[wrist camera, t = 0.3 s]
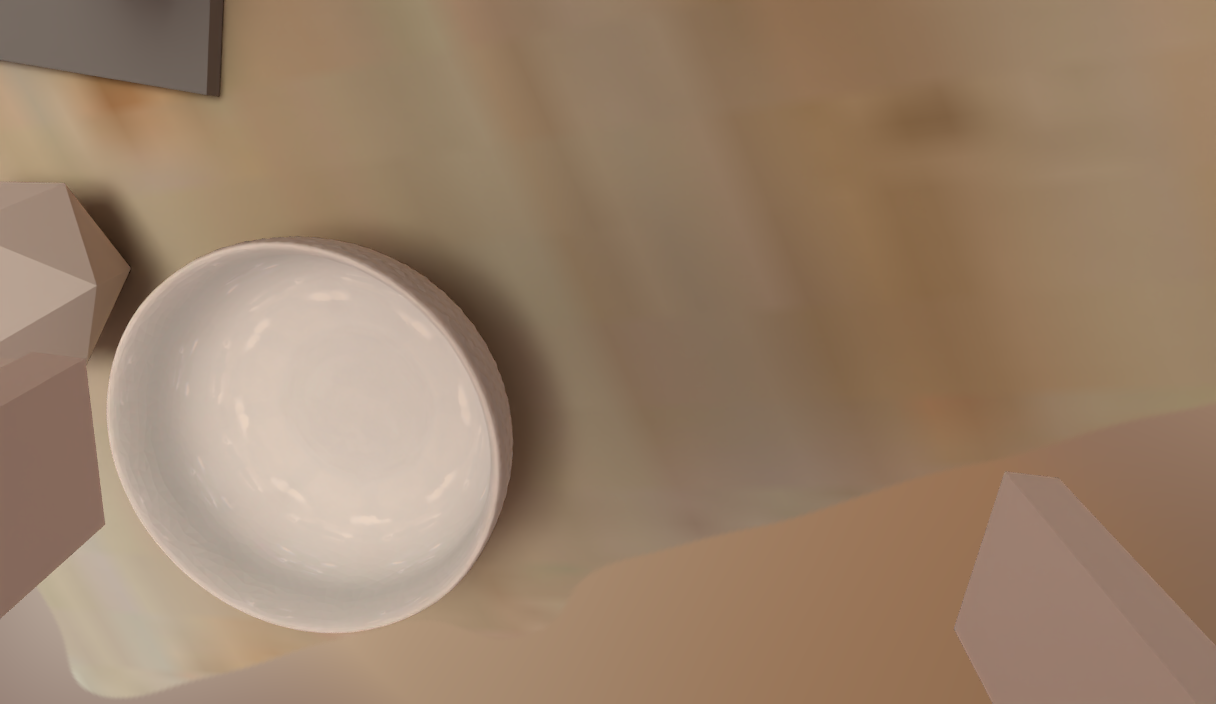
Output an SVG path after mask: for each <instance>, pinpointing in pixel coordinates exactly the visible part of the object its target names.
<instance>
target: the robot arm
mask: <svg viewBox="0 0 1216 704" xmlns="http://www.w3.org/2000/svg"><path fill="white" fill-rule="evenodd" d="M104 525H105V520H104V512H103V503H102V495H101V487H100V478H99V470H98V462H97V453H96V445H95V437H94V428H93V420H92V411H91V403H90V395H89V386H88V378H87V370H86V361H85V358H77V357H69V356H61V355H53V354H45V353H36V352H30V353H28V354H26V355H24V356H23V357H21V358H19V359H17V360H15V361H13V362H11V363H9V364H7V365H5V366H3V367H1V368H0V618H2V616H4V615H5V614H6V613H7V612H8V611H9V610H10V609H12V608H13V607H14V606H15V605H16V604H17V603H18V602H19V601H20V600H22V599H23V598H24V597H25V596H26V595H27V594H28V593H29V592H30V591H31V590H33V589H34V588H35V587H36V586H37V585H38V584H39V583H40V582H42V581H43V580H44V579H45V578H46V577H47V576H48V575H49V574H51V573H52V572H53V571H54V570H55V569H56V568H57V567H58V566H59V565H61V564H62V563H63V562H64V561H65V560H66V559H67V558H68V557H69V556H71V555H72V554H73V553H74V552H75V551H76V550H77V549H78V548H79V547H81V546H82V545H83V544H84V543H85V542H86V541H87V540H88V539H89V538H91V537H92V536H93V535H94V534H95V533H96V532H97V531H98V530H100V529H101V528H102V527H103V526H104ZM954 630H955V632H956V634H957V636H958V638H959V640H960V642H961V644H962V646H963V647H964V649H965V651H966V653H967V655H968V657H969V659H970V661H971V663H972V665H973V667H974V669H975V671H976V672H977V674H978V676H979V678H980V680H981V682H982V684H983V686H984V688H985V690H986V692H987V694H988V696H989V697H990V699H991V701H992V703H993V704H1216V646H1215V645H1214V644H1213V643H1212V641H1211V640H1210V639H1209V638H1208V637H1207V636H1206V635H1205V634H1204V633H1203V632H1202V631H1201V630H1200V629H1199V628H1198V627H1197V626H1196V624H1195V623H1194V622H1193V621H1192V620H1191V619H1190V618H1189V617H1188V616H1187V615H1186V614H1185V613H1184V612H1183V610H1181V608H1180V607H1179V606H1178V605H1177V604H1176V603H1175V602H1174V601H1173V600H1172V599H1171V598H1170V597H1169V596H1168V594H1167V593H1166V592H1165V591H1164V590H1163V589H1162V588H1161V587H1160V586H1159V585H1158V584H1157V583H1156V582H1155V581H1154V580H1153V578H1152V577H1150V575H1149V574H1148V573H1147V572H1146V571H1145V570H1144V569H1143V568H1142V567H1141V566H1140V565H1139V563H1137V561H1136V560H1135V559H1134V558H1133V557H1132V556H1131V555H1130V554H1129V553H1128V552H1127V551H1126V550H1125V548H1124V547H1123V546H1122V545H1121V544H1120V543H1119V542H1118V541H1117V540H1116V539H1115V538H1114V537H1113V536H1112V535H1111V534H1110V532H1109V531H1108V530H1107V529H1106V528H1105V527H1104V526H1103V525H1102V524H1101V523H1100V522H1099V521H1098V520H1097V519H1096V517H1095V516H1093V514H1092V513H1091V512H1090V511H1089V510H1088V509H1087V508H1086V507H1085V506H1084V505H1083V504H1082V503H1081V501H1080V500H1079V499H1078V498H1077V497H1076V496H1075V495H1074V494H1073V493H1072V492H1071V491H1070V490H1069V489H1068V488H1067V486H1066V485H1064V483H1063V482H1062V481H1061V480H1060V479H1059V478H1055V477H1047V476H1039V475H1030V474H1022V473H1014V472H1006V471H1005V472H1004V476H1003V479H1002V481H1001V485H1000V488H999V491H998V494H997V497H996V500H995V503H994V506H993V509H992V512H991V516H990V519H989V522H988V525H987V528H986V531H985V534H984V537H983V540H982V543H981V546H980V549H979V553H978V556H977V559H976V562H975V565H974V568H973V571H972V574H971V577H970V581H969V583H968V587H967V590H966V593H965V596H964V599H963V602H962V605H961V608H960V611H959V615H958V617H957V621H956V624H955V627H954Z"/></svg>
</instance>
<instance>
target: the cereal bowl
mask: <svg viewBox="0 0 1216 704" xmlns="http://www.w3.org/2000/svg"><path fill="white" fill-rule="evenodd" d="M107 428H108V435H109V442H110V448H111V452H112V456H113V460H114V464H115V467H116V470H117V473H118V476H119V478H120V481H121V483H122V486H123V488H124V490H125V493H126V495H127V497H128V499H129V501H130V503H131V505H132V507H133V509H134V511H135V513H136V514H137V516H138V518H139V520H140V521H141V523H142V524H143V526H144V527H145V529H146V530H147V532H148V533H149V534H150V536H151V537H152V538H153V540H154V541H155V542H156V544H157V545H158V546H159V547H160V548H161V550H162V551H163V552H164V553H165V554H166V555H167V556H168V558H169V559H170V560H171V561H172V562H173V563H174V564H175V565H177V566H178V567H179V568H180V569H181V570H182V571H183V572H184V573H185V574H186V575H187V576H189V577H190V578H191V579H192V580H193V581H194V582H196V583H197V584H198V585H200V586H201V587H202V588H204V589H205V590H206V591H208V592H209V593H211V594H212V595H214V596H215V597H217V598H218V599H220V600H222V601H223V602H225V603H227V604H228V605H230V606H232V607H234V608H236V609H238V610H240V611H242V612H244V613H246V614H248V615H250V616H253V617H255V618H257V619H260V620H263V621H266V622H269V623H272V624H274V625H278V626H283V627H287V628H291V629H295V630H300V631H306V632H318V633H349V632H358V631H365V630H370V629H375V628H379V627H383V626H386V625H389V624H393V623H396V622H398V621H401V620H404V619H406V618H408V617H410V616H413V615H415V614H417V613H419V612H421V611H422V610H424V609H426V608H427V607H429V606H431V605H432V604H434V603H436V602H437V601H439V600H440V599H441V598H442V597H444V596H445V595H446V594H447V593H449V592H450V591H451V590H452V589H453V588H454V587H455V586H456V585H457V584H458V583H459V582H460V581H461V580H462V579H463V578H464V576H465V575H466V574H467V573H468V572H469V571H470V569H471V568H472V566H473V565H474V563H475V562H476V560H477V559H478V557H479V556H480V554H481V552H482V551H483V549H484V547H485V545H486V543H487V542H488V540H489V538H490V536H491V533H492V531H493V529H494V527H495V525H496V523H497V520H498V517H499V515H500V512H501V510H502V508H503V502H504V500H505V497H506V495H507V488H508V483H509V481H510V474H511V467H512V458H513V451H512V447H513V433H512V424H511V416H510V408H509V403H508V397H507V395H506V393H505V386H504V383H503V381H502V378H501V374H500V373H499V371H498V368H497V364H496V362H495V361H494V359H493V357H492V355H491V353H490V351H489V350H488V347H487V344H486V343H485V342H484V340H483V339H482V337H481V335H480V334H479V333H478V332H477V330H476V328H475V325H474V324H473V323H472V322H471V321H469V319H468V318H467V317H466V316H465V314H464V313H463V311H462V309H461V308H460V307H459V306H457V305H456V304H455V303H454V302H453V300H451V299H450V298H449V297H448V296H447V295H446V293H445V292H444V291H442V290H440V289H439V288H438V287H437V286H436V285H435V284H433V283H431V282H430V281H429V280H428V278H427V277H425V276H423V275H421V274H419V273H418V272H417V271H416V270H413V269H411V268H410V267H409V266H408V265H406V264H403V263H400V262H399V261H397V260H395V259H394V258H391V257H388V256H386V255H384V254H382V253H379V252H377V251H374V250H372V249H370V248H366V247H361V246H359V245H357V244H354V243H347V242H342V241H338V240H334V239H322V238H317V237H300V236H296V237H278V238H270V239H259V240H254V241H245V242H242V243H238V244H235V245H232V246H228V247H223V248H220V249H217V250H215V251H213V252H210V253H208V254H206V255H204V256H201V257H198V258H196V259H195V260H193V261H191V262H190V263H188V264H186V265H185V266H183V267H182V268H180V269H179V270H177V271H176V272H175V273H173V274H172V275H171V276H169V277H168V278H167V279H166V280H165V281H163V282H162V283H161V284H160V285H159V286H158V287H157V288H156V289H154V290H153V291H152V292H151V293H150V295H149V296H148V297H147V298H146V299H145V300H144V301H143V303H142V304H141V305H140V306H139V307H138V309H137V311H136V312H135V314H134V315H133V317H132V318H131V320H130V321H129V323H128V325H127V327H126V329H125V331H124V333H123V335H122V337H121V340H120V342H119V344H118V347H117V350H116V353H115V356H114V360H113V363H112V368H111V372H110V377H109V385H108V393H107Z"/></svg>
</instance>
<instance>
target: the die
mask: <svg viewBox="0 0 1216 704" xmlns="http://www.w3.org/2000/svg"><path fill="white" fill-rule="evenodd" d="M130 269H131V268H130V266H129V265H128V264H127V263H126V261H125V260H124V259H123V257H122V256H121V255H120V254H119V252H118V251H117V250H116V248H115V247H114V246H113V245H112V243H111V242H110V241H109V239H108V238H107V237H106V236H105V234H104V233H103V232H102V230H101V229H100V228H99V227H98V225H97V224H96V223H95V221H94V220H93V219H92V218H91V216H90V215H89V214H88V213H87V211H86V210H85V209H84V207H83V206H82V205H81V204H80V202H79V201H78V200H77V198H76V197H75V196H74V195H73V193H72V192H71V191H70V189H69V188H68V187H67V186H66V184H65V183H38V182H0V368H1V367H3V366H5V365H7V364H9V363H11V362H13V361H15V360H17V359H19V358H21V357H23V356H24V355H26V354H28V353H30V352H36V353H45V354H53V355H61V356H69V357H77V358H85V361H86V365H87V363H88V361H89V359H90V356H91V354H92V352H93V350H94V348H95V346H96V343H97V341H98V339H99V337H100V335H101V332H102V330H103V328H104V326H105V324H106V322H107V319H108V317H109V315H110V313H111V311H112V308H113V306H114V304H115V302H116V300H117V298H118V295H119V293H120V291H121V289H122V287H123V284H124V282H125V280H126V278H127V276H128V274H129V271H130Z"/></svg>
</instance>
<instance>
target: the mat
mask: <svg viewBox="0 0 1216 704" xmlns="http://www.w3.org/2000/svg"><path fill="white" fill-rule="evenodd" d="M222 20H223V0H0V60H4V61H9V62H15V63H21V64H27V65H33V66H39V67H45V68H51V69H57V70H63V71H69V72H74V73H80V74H86V75H92V76H98V77H104V78H110V79H116V80H122V81H128V82H133V83H139V84H145V85H151V86H157V87H163V88H169V89H175V90H181V91H187V92H193V93H198V94H204V95H212V96H219V93H220V69H221V44H222Z"/></svg>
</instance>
